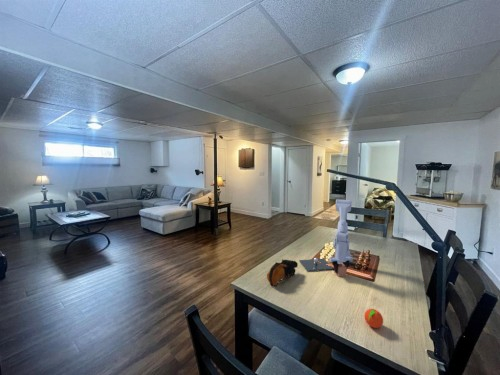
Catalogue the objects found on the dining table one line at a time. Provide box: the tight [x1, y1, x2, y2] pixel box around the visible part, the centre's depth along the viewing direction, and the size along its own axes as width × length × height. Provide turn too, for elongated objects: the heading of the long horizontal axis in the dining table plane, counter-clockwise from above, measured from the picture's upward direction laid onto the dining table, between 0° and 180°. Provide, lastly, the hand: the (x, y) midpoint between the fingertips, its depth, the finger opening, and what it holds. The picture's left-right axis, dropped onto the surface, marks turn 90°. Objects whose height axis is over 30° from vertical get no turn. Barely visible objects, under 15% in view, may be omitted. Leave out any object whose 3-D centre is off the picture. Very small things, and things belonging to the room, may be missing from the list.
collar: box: [334, 263, 348, 278], centre depth 133 cm, size 5×5×6 cm
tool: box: [266, 259, 299, 286], centre depth 128 cm, size 8×23×15 cm, turn 133°
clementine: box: [364, 308, 384, 329], centre depth 90 cm, size 8×7×7 cm
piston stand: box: [298, 257, 334, 272], centre depth 144 cm, size 18×14×5 cm
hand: (340, 272), depth 133 cm, fingers closed on collar, 5 cm apart
